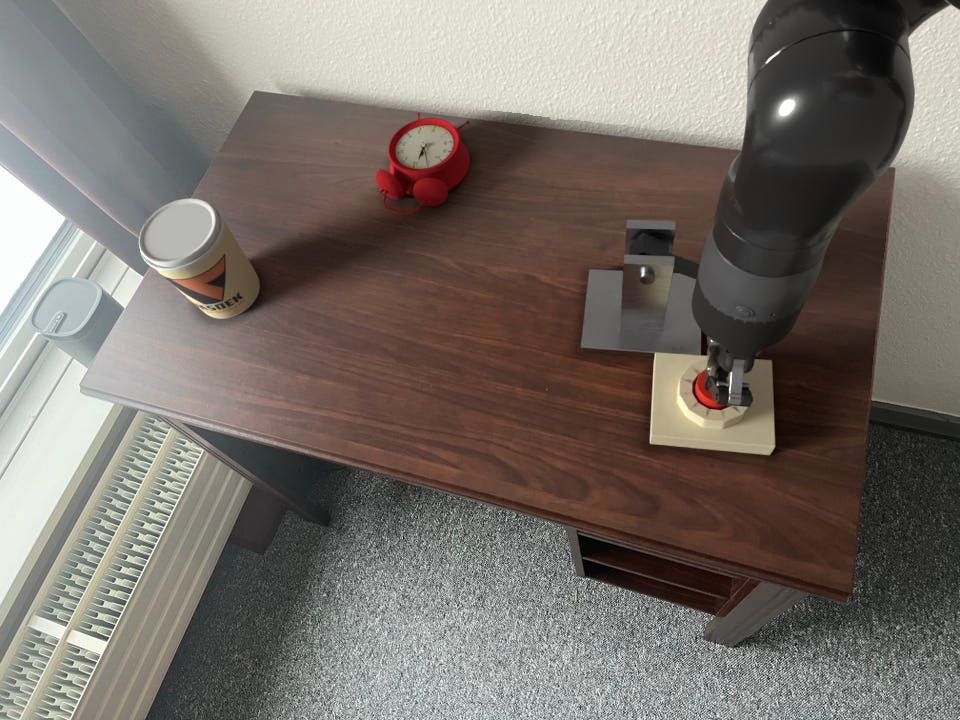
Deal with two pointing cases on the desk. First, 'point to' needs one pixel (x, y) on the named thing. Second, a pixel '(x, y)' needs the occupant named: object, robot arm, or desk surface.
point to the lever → (663, 254)
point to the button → (705, 394)
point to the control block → (704, 428)
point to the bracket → (641, 303)
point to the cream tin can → (200, 257)
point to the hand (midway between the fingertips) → (716, 383)
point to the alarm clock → (424, 162)
